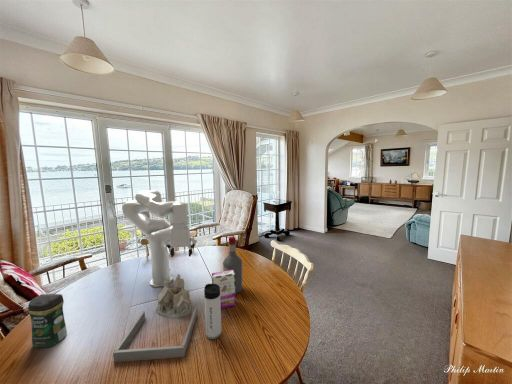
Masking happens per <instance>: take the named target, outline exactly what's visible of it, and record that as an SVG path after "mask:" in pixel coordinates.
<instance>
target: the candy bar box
mask: <svg viewBox="0 0 512 384" xmlns="http://www.w3.org/2000/svg"><path fill="white" fill-rule="evenodd" d="M211 281H212V282H211V284H217V285H219V287H220V301H221V309H225V308H231V307H235V306H237V296H236V295H237V293H236V289H235V273H234V270H230V271H223V270H222V271H219V272H218V271H217V272H211Z"/></svg>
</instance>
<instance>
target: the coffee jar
mask: <svg viewBox="0 0 512 384" xmlns="http://www.w3.org/2000/svg"><path fill="white" fill-rule="evenodd" d="M64 303H65V301H64V297H63V295H62V294H61V293H47V294H45V293H44V294H39V295H38V296H36V297H34V298H32V299H31V300H30V301H29V302H28V306H27V307H28V308H27V311H28V314H29V317H30V321H31V322H30V323H31V343H32V347H35V348H50V347H52V346H54V345H56V344H58V343H60V342H61V341H62V340H64V338H65V337H66V336H67V334H68V331H67V325H66V322H65V315H64Z"/></svg>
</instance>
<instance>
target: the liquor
mask: <svg viewBox="0 0 512 384" xmlns="http://www.w3.org/2000/svg"><path fill="white" fill-rule="evenodd" d="M236 243H237V241H236V237H235V236H229V237H228V247H229V248H228V255H227V256H226V257H225V258H224V259H223V262H222V272H223V271H230V270H234V273H235V289H236V294H239V293H240V292H242V291H243V285H244V284H243V282H244V281H243V260H242V259H241V257H239V255H238V254H237V252H236ZM238 292H239V293H238Z"/></svg>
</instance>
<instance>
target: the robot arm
mask: <svg viewBox="0 0 512 384" xmlns="http://www.w3.org/2000/svg"><path fill="white" fill-rule="evenodd" d="M134 196H135V197H134V199H132V200H128V201H126V202H125V203H123V204H122V207H121V210H122V213H123V216H124V217H125V219H127V220H128V221H129V222H130V223H132V224H133V225H134V226H136V228H137V229H138V230H139V231H140V232H141V233H142V234H143V235H144V236H146V237H147V242H148V246H149V249H150V260H151V263H150V264H151V275H152V278H151V279H150V281H149V285H150V287H153V288H155V287H156V288H159V287H164V281H168V285H169V284H171V283H172V282H173V281H174V279H173V276H172V275H170V271H171V268H170V260H169V259H170V258H169V256H170V257H171V258H173V257H174V256H175V248H186V247H187V248H188V257H191V256H192V255H193V248H194V247H195V246H196V244H197V242H198V240H197V239H194V238H193V237H191V232H190V231H191V230H190V227H189V224H188V205H187V203H186V202H182V201H181V202H180V201H178V200H171V201H164V202H162V195H161V192H159V191H158V190H157V189H150V190H149V189H148V190H141V191H139V192H137V193H136V194H135V195H134ZM143 212H149V213H150V215H153V216H156V217H158V218H154V219H152V218H150V217H148V215H146V214H144V213H143ZM168 216H172V222H169V220H167V219H165V218H162V217H168ZM165 246H166V247H165ZM167 248H168V249H167ZM168 250H169V251H168ZM169 253H170V254H169Z"/></svg>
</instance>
